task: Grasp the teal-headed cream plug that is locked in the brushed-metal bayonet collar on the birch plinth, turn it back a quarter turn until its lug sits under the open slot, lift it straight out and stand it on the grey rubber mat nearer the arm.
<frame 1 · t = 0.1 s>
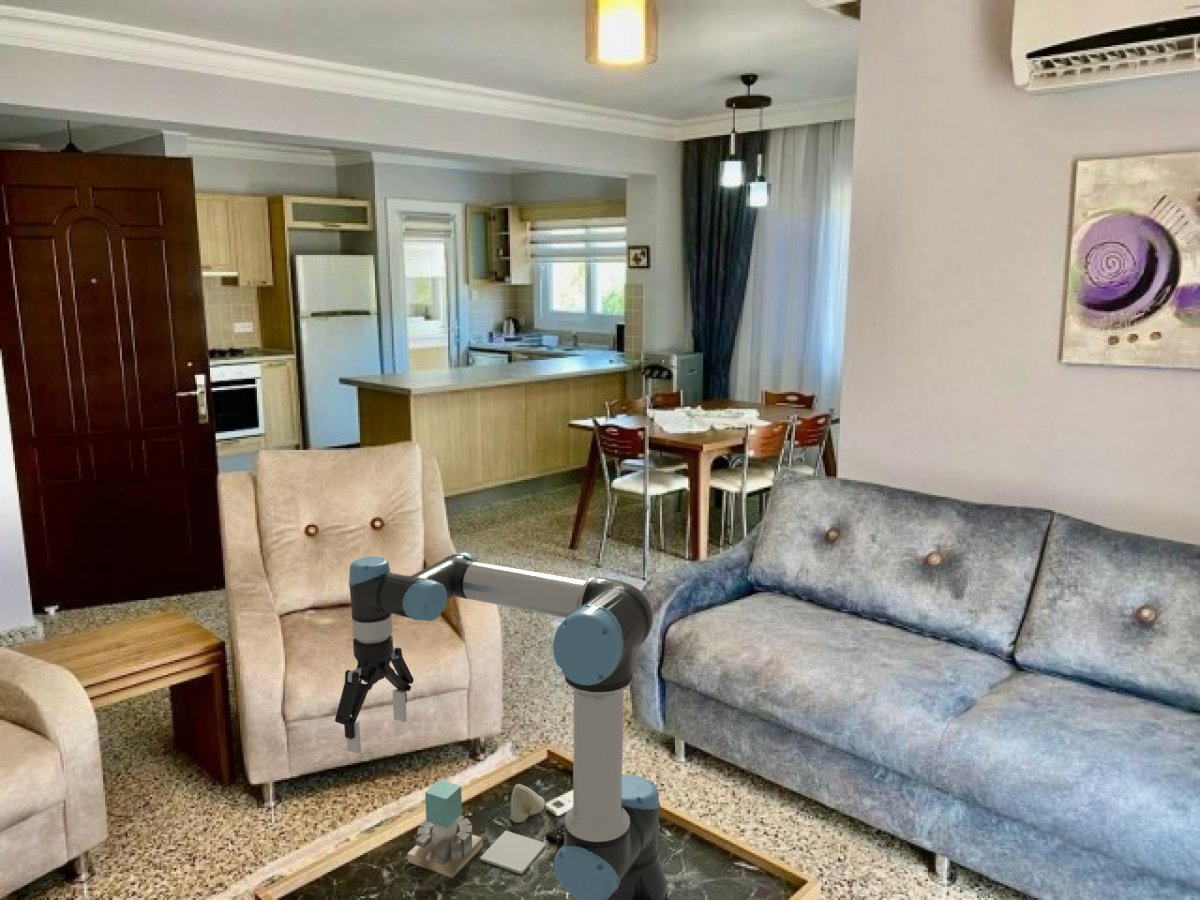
hand: (378, 735, 182), 28 cm above the table, fingers open, 13 cm apart
socket: (445, 854, 190), on the table
mat: (513, 852, 190), on the table
plug: (445, 845, 189), point 2 cm above the table, touching socket
seashell: (528, 815, 203), on the table
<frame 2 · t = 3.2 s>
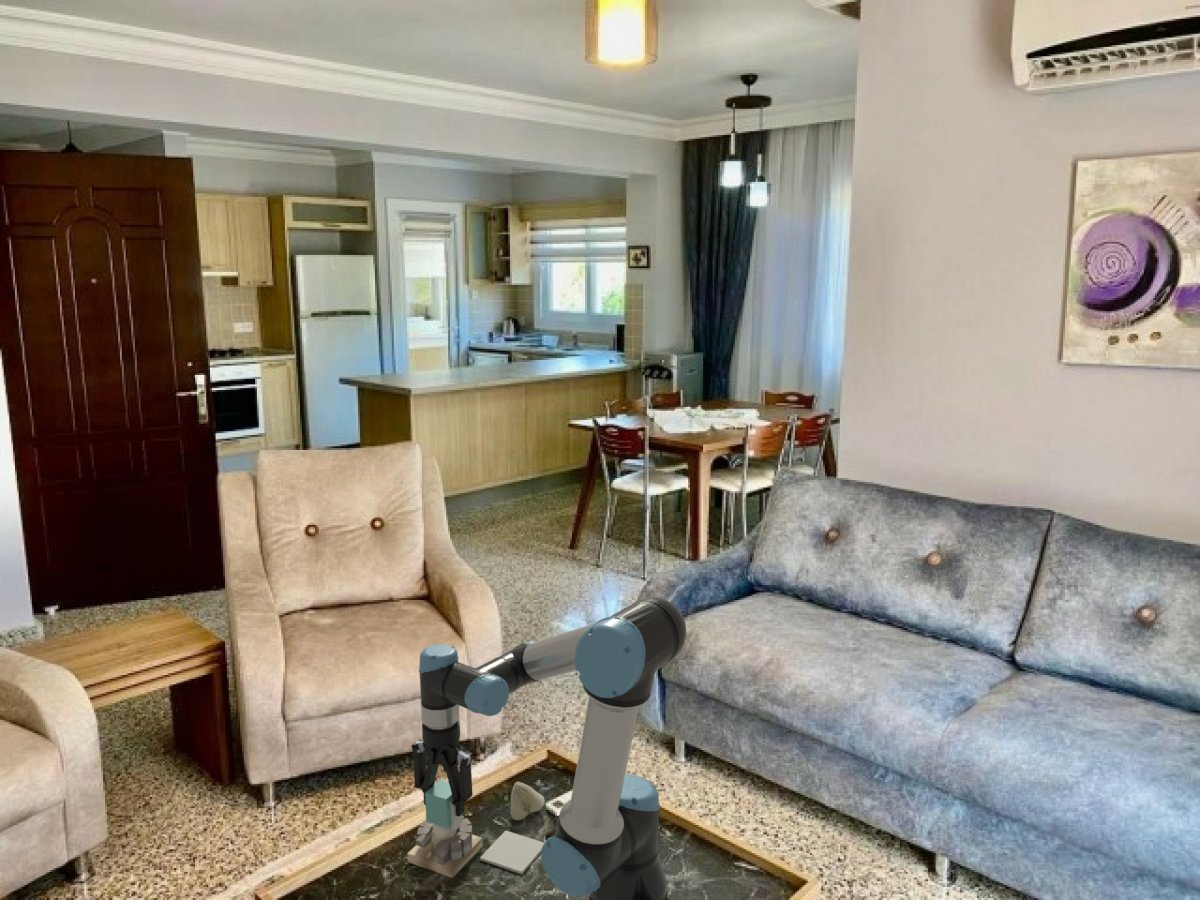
hand: (444, 823, 188), 7 cm above the table, fingers closed on plug, 5 cm apart
plug: (445, 845, 189), point 2 cm above the table, touching gripper, socket
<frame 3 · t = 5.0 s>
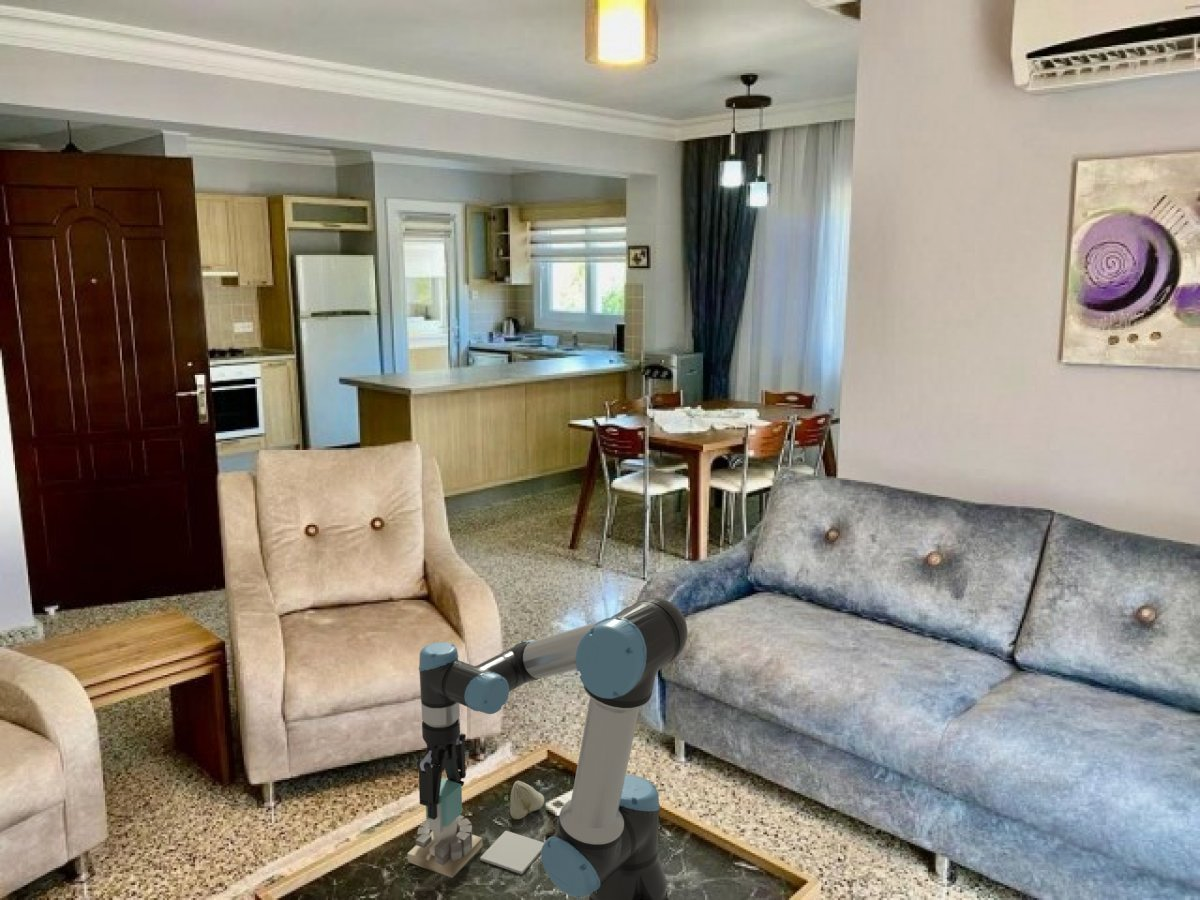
hand: (444, 822, 188), 7 cm above the table, fingers closed on plug, 5 cm apart
plug: (445, 843, 189), point 2 cm above the table, touching gripper
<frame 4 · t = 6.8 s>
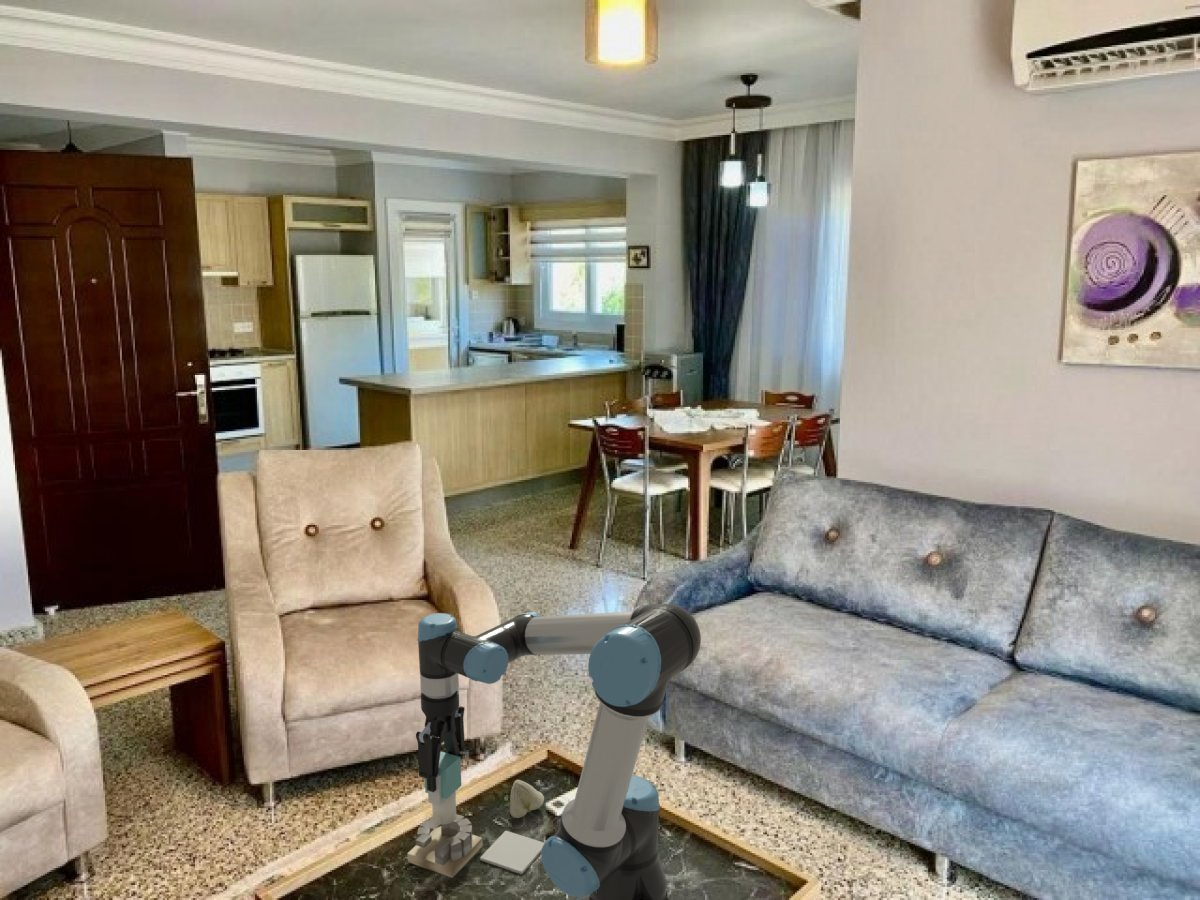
hand: (443, 795, 187), 14 cm above the table, fingers closed on plug, 5 cm apart
plug: (444, 817, 188), point 9 cm above the table, touching gripper
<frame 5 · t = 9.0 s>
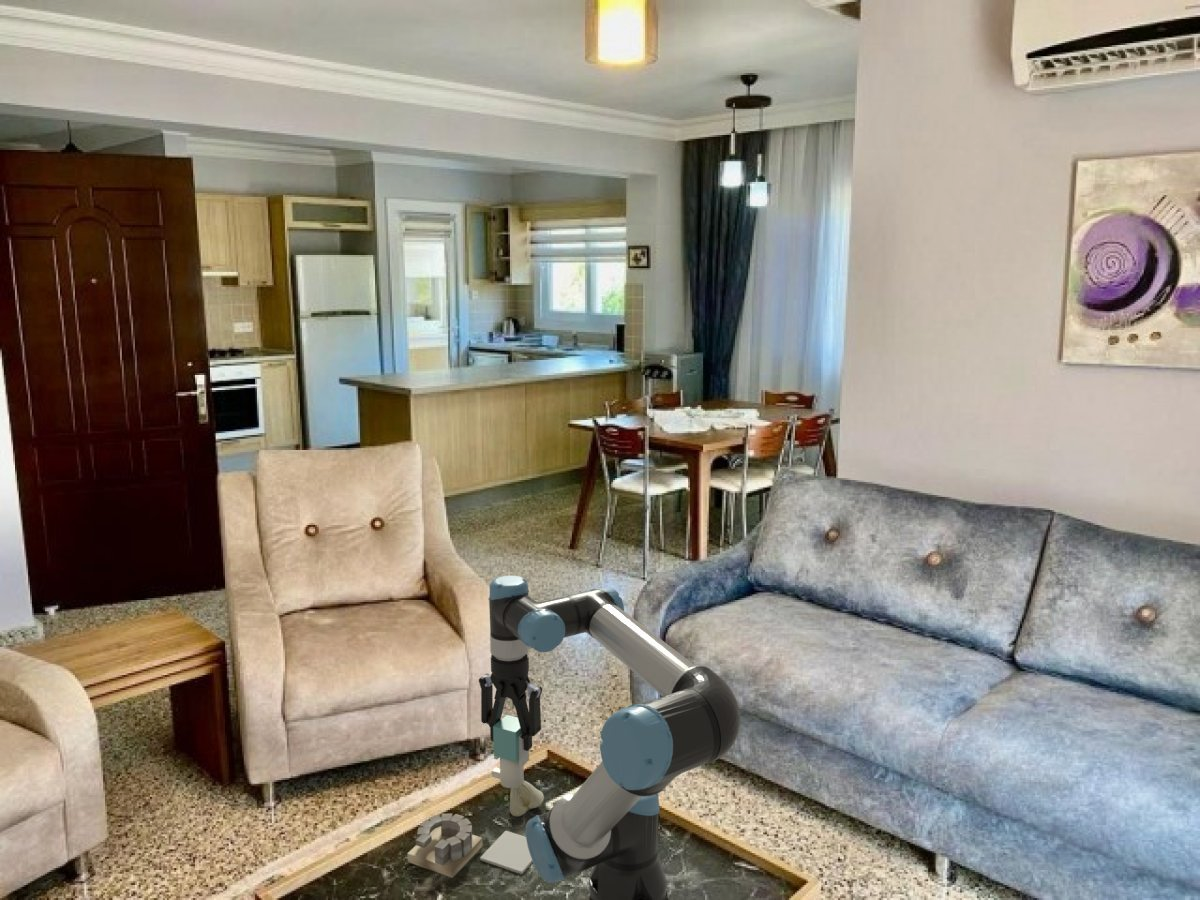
hand: (511, 759, 186), 21 cm above the table, fingers closed on plug, 5 cm apart
plug: (512, 781, 187), point 16 cm above the table, touching gripper
when the fingers open (6 cm above the table, at t = 10.8 s): plug stays where it is, resting on mat.
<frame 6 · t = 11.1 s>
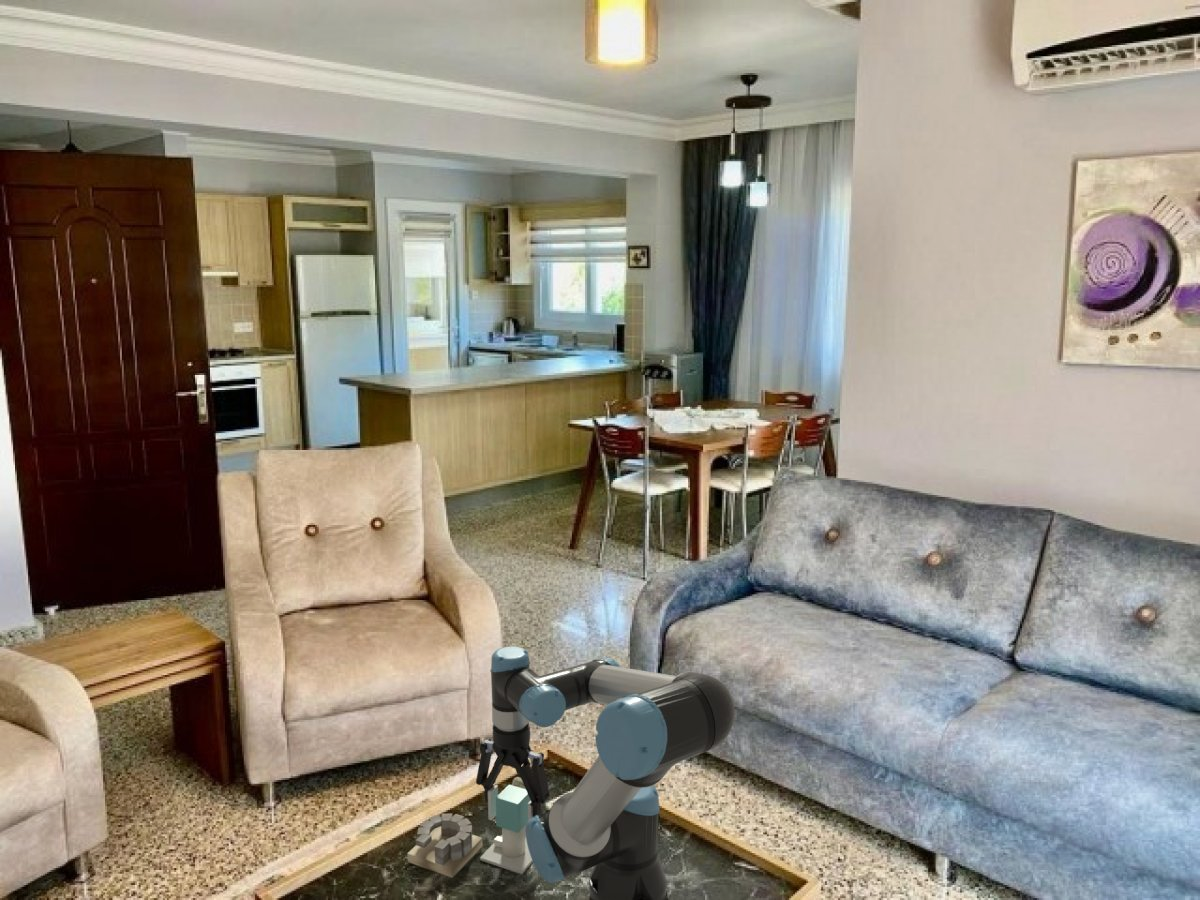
hand: (513, 822, 189), 7 cm above the table, fingers open, 9 cm apart
plug: (513, 850, 190), point 1 cm above the table, touching mat
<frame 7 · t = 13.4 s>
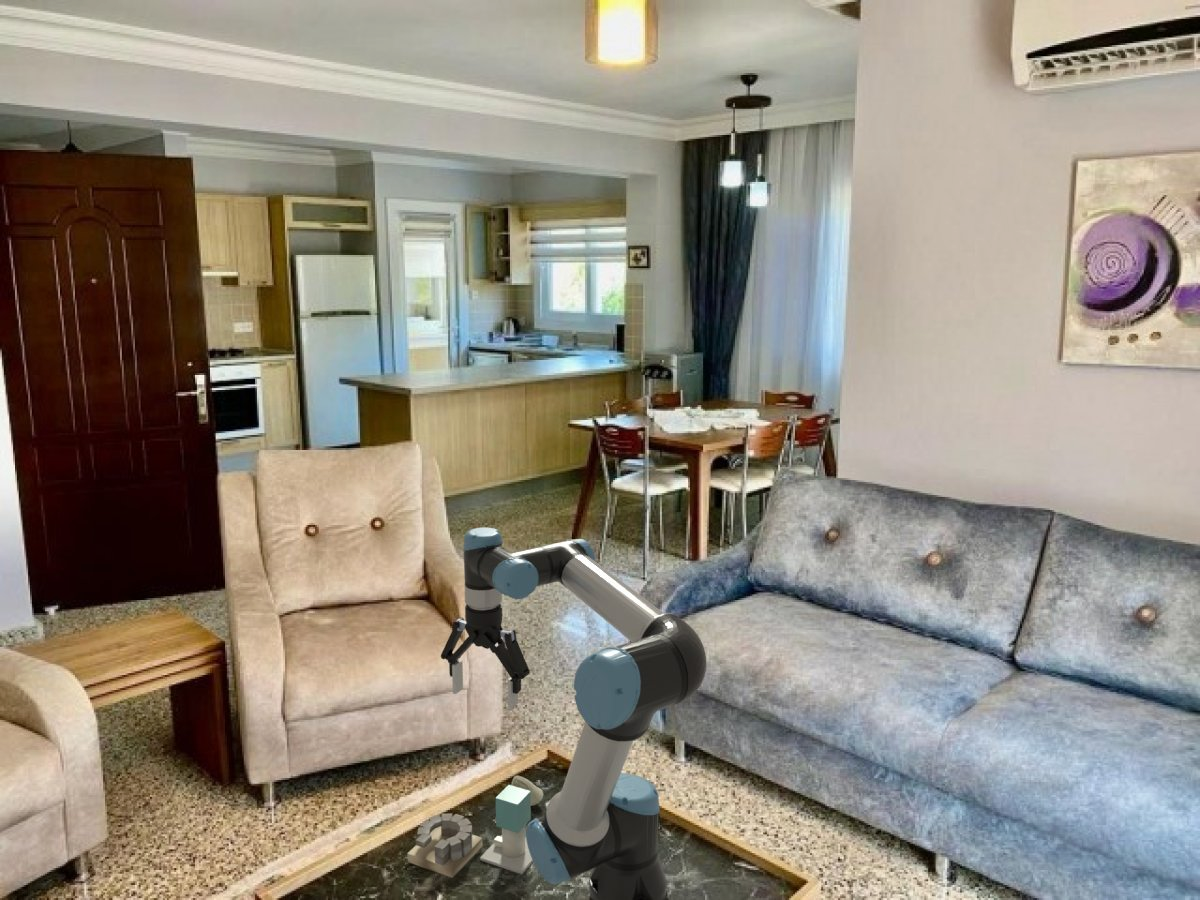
hand: (485, 698, 190), 31 cm above the table, fingers open, 13 cm apart
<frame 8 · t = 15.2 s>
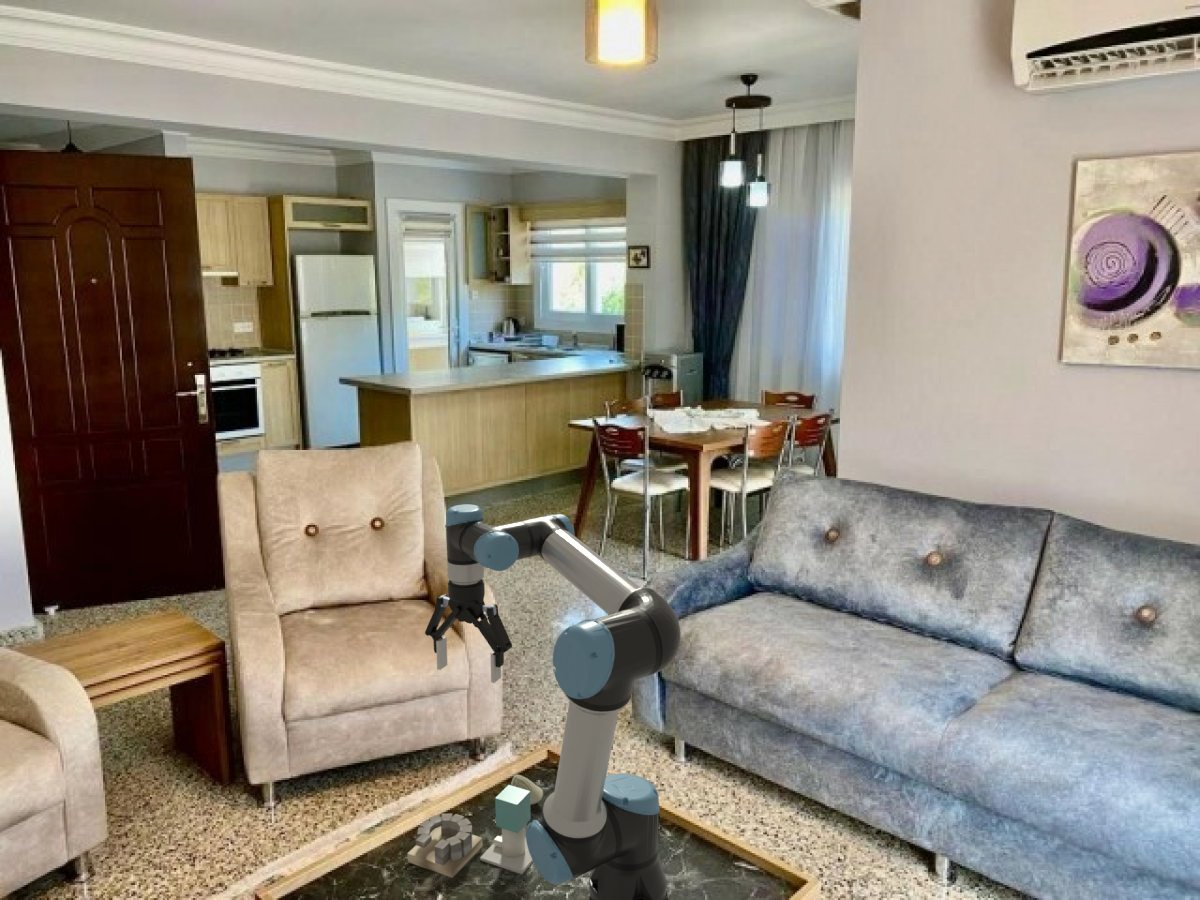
hand: (468, 673, 194), 35 cm above the table, fingers open, 13 cm apart
at the end: plug inside the target area on the mat (0.0 cm from its centre), point 0.6 cm above the mat's base; plug tilted 1°; the gripper is holding nothing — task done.
